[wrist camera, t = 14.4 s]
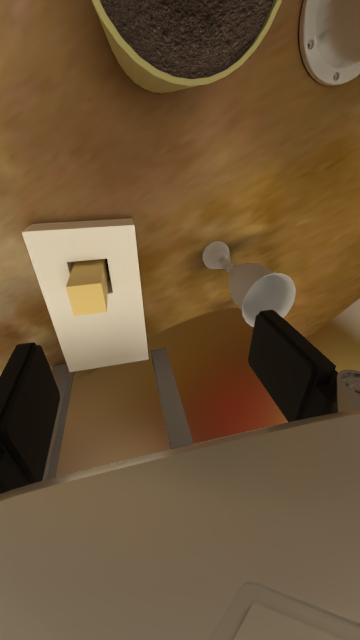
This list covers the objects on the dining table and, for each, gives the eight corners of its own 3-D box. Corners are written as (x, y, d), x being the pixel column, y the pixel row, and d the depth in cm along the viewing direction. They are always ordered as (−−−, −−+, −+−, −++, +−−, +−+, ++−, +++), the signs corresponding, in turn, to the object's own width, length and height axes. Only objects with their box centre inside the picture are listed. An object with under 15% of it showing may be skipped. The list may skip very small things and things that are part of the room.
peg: (77, 255, 39) (65, 287, 29) (103, 253, 40) (101, 283, 30) (83, 279, 41) (74, 316, 31) (108, 276, 42) (106, 311, 32)
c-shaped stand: (37, 322, 43) (-79, 573, 17) (163, 306, 47) (228, 489, 21) (58, 376, 50) (-1, 614, 24) (166, 359, 54) (218, 545, 28)
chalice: (232, 272, 47) (289, 323, 32) (198, 277, 46) (239, 332, 31) (235, 232, 43) (301, 268, 28) (197, 236, 42) (244, 277, 27)
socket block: (32, 223, 35) (21, 231, 31) (131, 218, 38) (134, 224, 34) (73, 354, 48) (69, 372, 44) (145, 343, 51) (148, 359, 47)
